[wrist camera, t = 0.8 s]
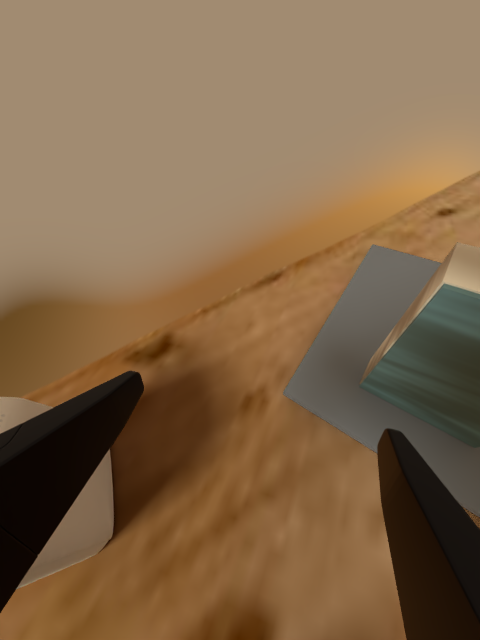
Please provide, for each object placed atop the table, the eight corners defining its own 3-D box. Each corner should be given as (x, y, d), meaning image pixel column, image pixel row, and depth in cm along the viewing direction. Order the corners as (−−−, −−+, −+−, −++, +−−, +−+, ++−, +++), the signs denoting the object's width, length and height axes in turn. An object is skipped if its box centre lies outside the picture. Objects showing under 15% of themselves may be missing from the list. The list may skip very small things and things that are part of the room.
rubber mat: (560, 567, 15) (573, 571, 14) (283, 394, 23) (283, 392, 23) (572, 305, 24) (579, 301, 24) (370, 249, 33) (372, 244, 32)
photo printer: (121, 544, 19) (-65, 618, 9) (67, 570, 18) (-196, 682, 8) (112, 418, 25) (-5, 374, 14) (71, 436, 24) (-80, 403, 14)
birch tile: (475, 448, 18) (800, 395, 7) (357, 386, 22) (441, 285, 11) (482, 411, 20) (767, 315, 8) (370, 359, 23) (457, 242, 12)
